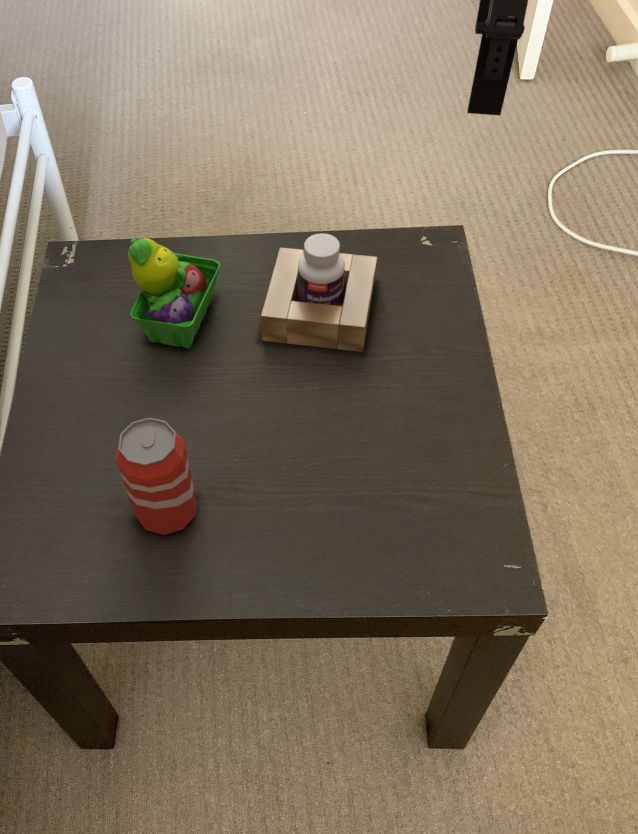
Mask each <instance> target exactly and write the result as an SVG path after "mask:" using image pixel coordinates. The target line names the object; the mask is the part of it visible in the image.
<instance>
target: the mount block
mask: <svg viewBox="0 0 638 834" xmlns="http://www.w3.org/2000/svg"><path fill="white" fill-rule="evenodd" d="M303 254H304V249H299V248H290V247H279V249H278V253H277V257H276V260H275V264H274V268H273V270H272V274H271V278H270V281H269V285H268V289H267V293H266V296H265V299H264V302H263V303H264V304H263V308H262V310H261V314H260V324H261V340H262V341H263V342H269V343H270V342H271V343H279V344H287V345H297V346H305V347H315V348H324V349H332V350H341V351H351V352H357V353H363V352H364V348H365V344H366V343H365V342H366V337H367V332H368V331H367V330H368V326H369V325H368V324H369V320H370V313H371V308H372V307H371V306H372V300H373V297H374V296H373V295H374V289H375V283H376V275H377V267H378V266H377V265H378V256H373V255H361V254H353V253H344V252H343V253H342V252H340V253H339V254H340V255H341V256H342V258H343V260H344V263H345V272H344V286H343V301H342V306H335V305H325V304H316V303H306V302H298V263H299V260H300V258H301V256H302V255H303Z"/></svg>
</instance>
